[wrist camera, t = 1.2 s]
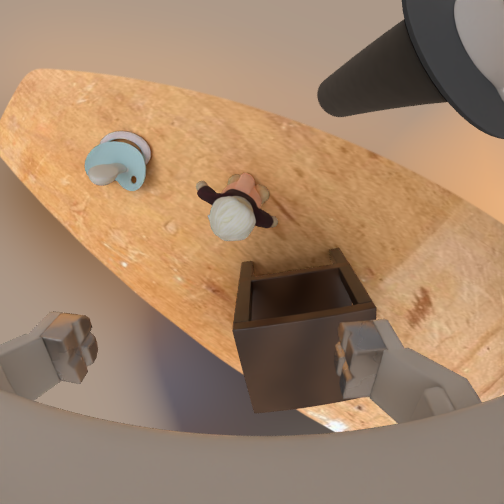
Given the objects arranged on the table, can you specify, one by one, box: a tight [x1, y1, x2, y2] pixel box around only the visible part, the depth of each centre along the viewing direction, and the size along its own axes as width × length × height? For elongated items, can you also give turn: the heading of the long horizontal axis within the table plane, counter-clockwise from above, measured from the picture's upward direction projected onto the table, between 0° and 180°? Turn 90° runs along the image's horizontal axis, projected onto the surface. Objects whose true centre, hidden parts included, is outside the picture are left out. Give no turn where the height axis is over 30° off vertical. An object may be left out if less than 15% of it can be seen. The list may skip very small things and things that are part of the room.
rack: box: [233, 248, 376, 413], centre depth 30 cm, size 11×10×13 cm
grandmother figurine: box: [196, 173, 278, 241], centre depth 26 cm, size 8×4×13 cm, turn 74°
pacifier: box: [85, 131, 151, 191], centre depth 28 cm, size 7×6×6 cm
